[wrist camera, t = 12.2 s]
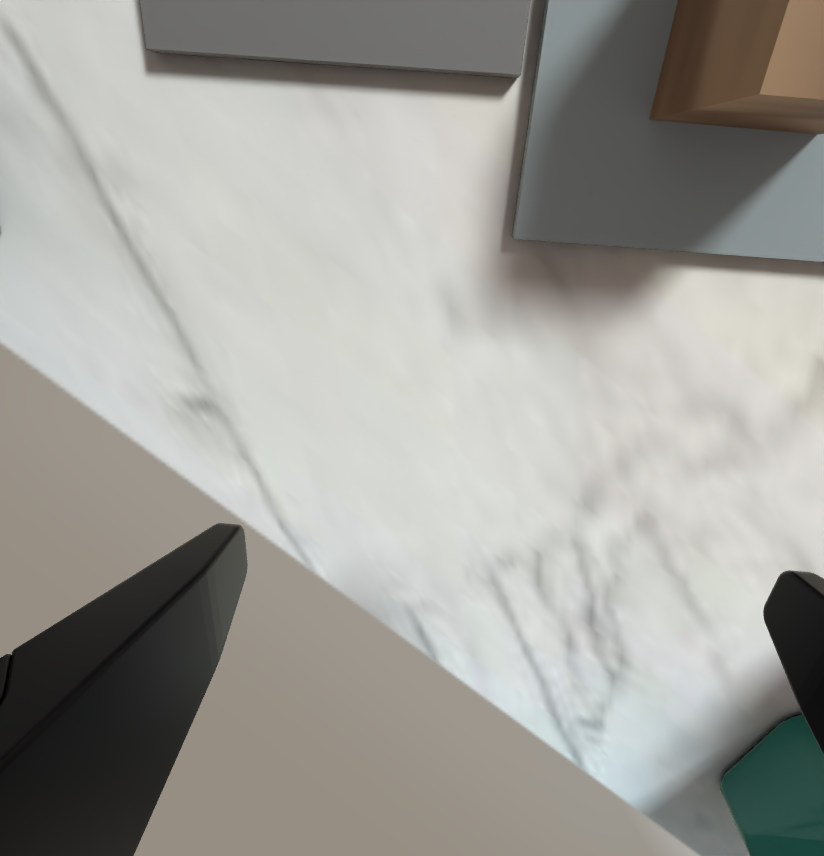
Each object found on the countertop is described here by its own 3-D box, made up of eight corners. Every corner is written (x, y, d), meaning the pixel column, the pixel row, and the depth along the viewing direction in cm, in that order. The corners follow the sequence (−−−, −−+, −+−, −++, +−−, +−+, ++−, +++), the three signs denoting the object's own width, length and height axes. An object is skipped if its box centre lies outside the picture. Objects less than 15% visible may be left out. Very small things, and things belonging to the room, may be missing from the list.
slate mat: (512, 236, 18) (514, 238, 17) (588, -299, 12) (594, -320, 12) (868, 263, 18) (882, 266, 17) (1102, -268, 12) (1133, -288, 12)
